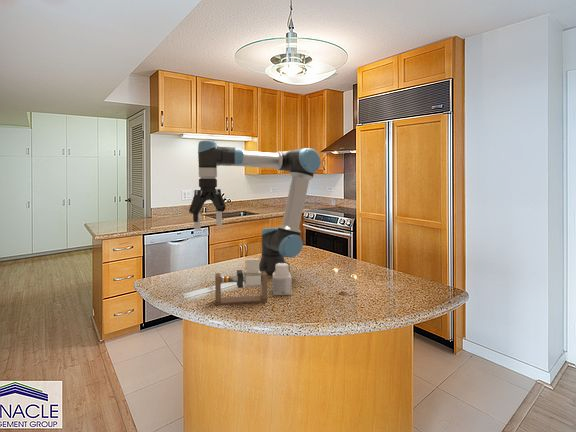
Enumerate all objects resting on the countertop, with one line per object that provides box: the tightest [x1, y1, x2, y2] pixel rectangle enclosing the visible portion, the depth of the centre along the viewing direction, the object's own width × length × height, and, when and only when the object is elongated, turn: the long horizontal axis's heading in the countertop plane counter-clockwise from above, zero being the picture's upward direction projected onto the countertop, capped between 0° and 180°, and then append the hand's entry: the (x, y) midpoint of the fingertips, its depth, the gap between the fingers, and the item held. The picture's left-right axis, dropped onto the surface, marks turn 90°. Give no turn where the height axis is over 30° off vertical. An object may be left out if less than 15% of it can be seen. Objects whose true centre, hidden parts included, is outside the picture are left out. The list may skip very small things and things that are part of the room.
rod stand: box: [214, 271, 268, 306], centre depth 136 cm, size 20×6×11 cm, turn 102°
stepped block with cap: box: [243, 257, 261, 289], centre depth 137 cm, size 6×6×11 cm
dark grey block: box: [236, 269, 244, 289], centre depth 136 cm, size 2×6×6 cm, turn 12°
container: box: [271, 261, 293, 296], centre depth 148 cm, size 8×8×13 cm
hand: (208, 227), depth 148 cm, fingers open, 13 cm apart
